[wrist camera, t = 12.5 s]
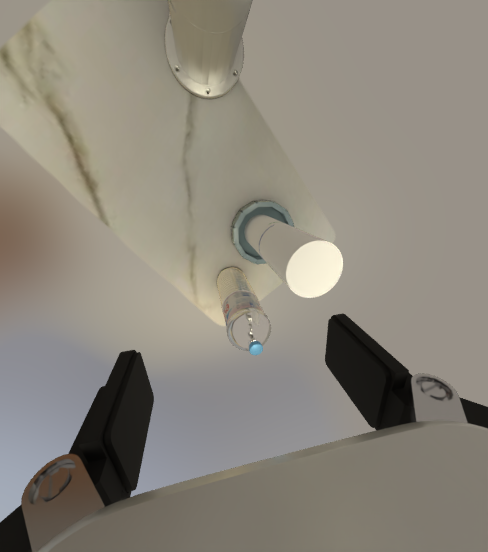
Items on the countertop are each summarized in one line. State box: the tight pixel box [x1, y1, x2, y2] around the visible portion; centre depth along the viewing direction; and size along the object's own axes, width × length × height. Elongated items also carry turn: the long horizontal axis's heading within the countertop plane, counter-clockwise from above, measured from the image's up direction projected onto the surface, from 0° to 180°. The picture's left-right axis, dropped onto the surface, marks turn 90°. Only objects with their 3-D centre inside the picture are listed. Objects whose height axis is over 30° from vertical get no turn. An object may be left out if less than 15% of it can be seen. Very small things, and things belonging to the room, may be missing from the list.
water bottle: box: [217, 267, 271, 355], centre depth 42 cm, size 7×7×25 cm
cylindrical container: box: [244, 215, 343, 298], centre depth 38 cm, size 7×7×25 cm
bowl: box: [232, 201, 294, 264], centre depth 49 cm, size 13×13×3 cm
